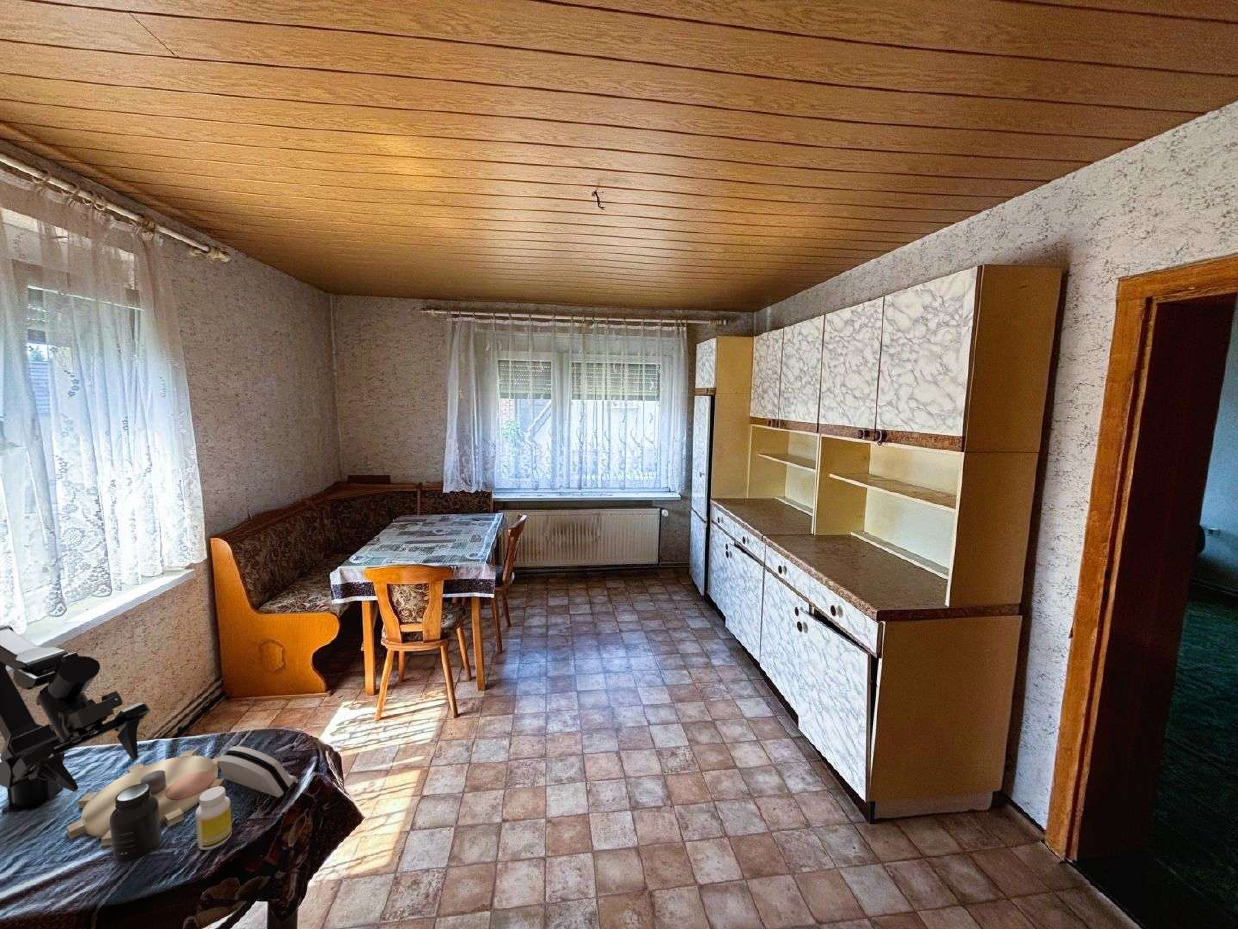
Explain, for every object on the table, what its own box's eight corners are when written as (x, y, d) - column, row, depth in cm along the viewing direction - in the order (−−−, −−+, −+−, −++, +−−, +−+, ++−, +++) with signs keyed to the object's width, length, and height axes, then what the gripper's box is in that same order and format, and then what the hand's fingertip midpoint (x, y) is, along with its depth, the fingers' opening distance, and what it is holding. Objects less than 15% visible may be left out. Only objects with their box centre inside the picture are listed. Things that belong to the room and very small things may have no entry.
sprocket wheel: (27, 855, 97) (25, 833, 97) (127, 762, 123) (126, 745, 122) (186, 835, 103) (184, 814, 102) (250, 750, 128) (249, 733, 128)
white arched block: (299, 782, 118) (284, 752, 114) (281, 802, 114) (264, 773, 110) (246, 764, 123) (229, 736, 119) (227, 783, 119) (209, 754, 115)
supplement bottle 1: (134, 835, 102) (129, 779, 101) (171, 834, 103) (166, 778, 102) (102, 866, 96) (97, 806, 94) (142, 864, 96) (137, 804, 95)
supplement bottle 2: (238, 833, 104) (236, 787, 103) (209, 854, 99) (206, 807, 98) (220, 825, 105) (217, 780, 104) (190, 846, 100) (187, 799, 99)
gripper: (14, 713, 92) (57, 787, 89) (140, 664, 109) (179, 725, 107) (-6, 744, 95) (35, 816, 93) (120, 692, 113) (157, 752, 110)
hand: (107, 774), depth 100 cm, fingers open, 9 cm apart
